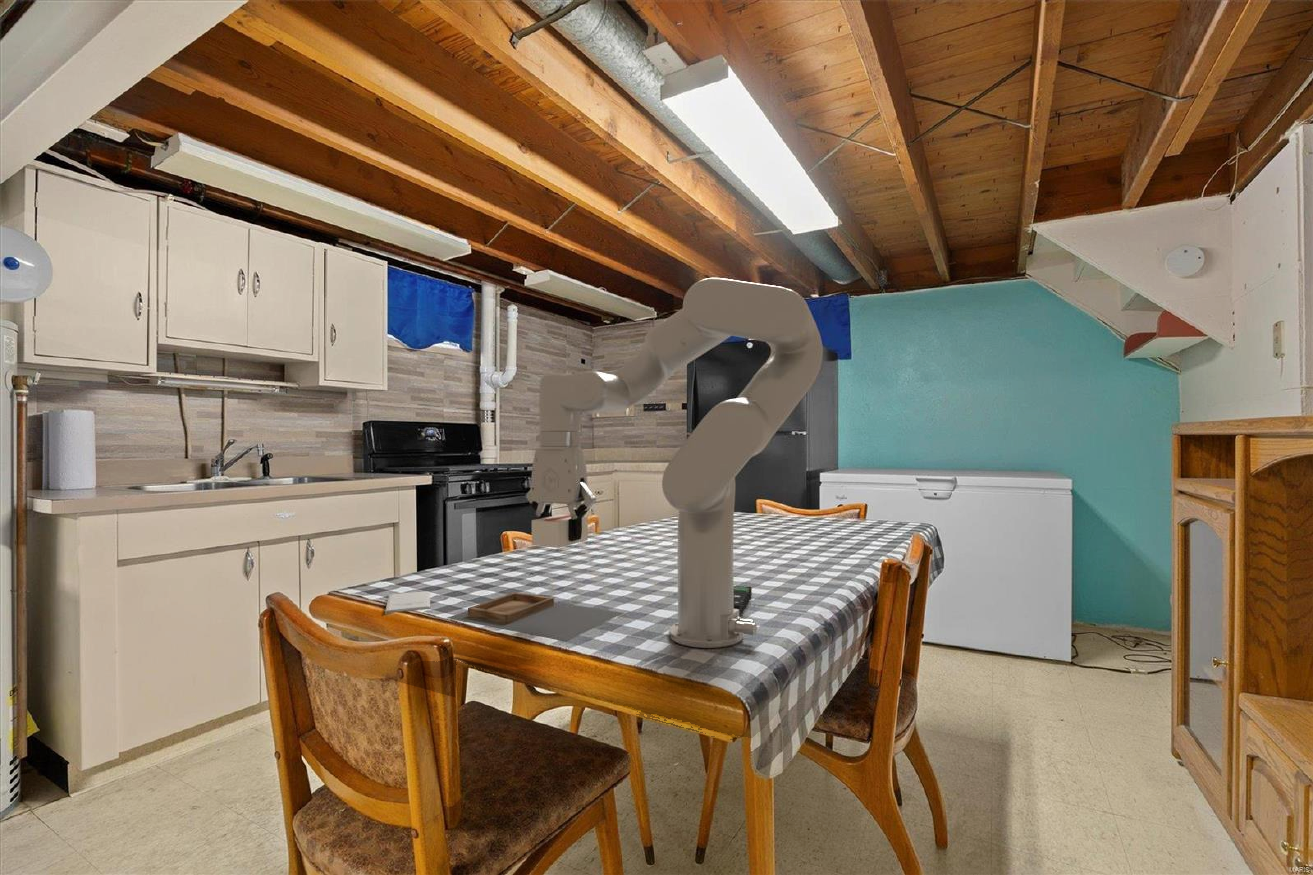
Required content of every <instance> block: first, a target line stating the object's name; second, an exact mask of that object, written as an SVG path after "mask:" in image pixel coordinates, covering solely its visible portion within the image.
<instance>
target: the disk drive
mask: <svg viewBox="0 0 1313 875" xmlns="http://www.w3.org/2000/svg"><path fill="white" fill-rule="evenodd" d="M752 592H753V590H752V587H751V586H742V585H741V586H738V585H734V609H739V617H742V615H743V614H744V612H745V610H746V608H747V606H748V604H749V602H750V601H751V599H752V597H751V596H753V595H752ZM749 600H750V601H749ZM746 605H747V606H746ZM745 607H746V608H745ZM744 609H745V610H744ZM743 611H744V612H743ZM741 614H742V615H741Z"/></svg>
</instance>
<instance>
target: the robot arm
mask: <svg viewBox="0 0 1313 875" xmlns="http://www.w3.org/2000/svg"><path fill="white" fill-rule="evenodd" d="M732 336H733V337H736V338H737V337H738V338H743V339H748V340H754V341H760V342H765V343H766V344H767V345H768V346H769V347H770V355H769V357H768V359H767V360H766V361H765V363H764V364H763V365H762V366H761V367H760V368H759V369H758V370H757V372H756V373H755V374H754V375H753V377H752V378H751V380H750V381H749V382H748V383H747V385H746V386H745V387H744V389H743V390H742V391H741V392H740V393H739V394H738V396H737V397H736V398H731V399H726V400H723V401H721V402H720V403H718V404H716V405H715V406H713V407H712V408H711V410H709V411H708V412H707V414H706V415H705V416H704V417H703V418H702V419H701V421H700V422H699V423H698V424H697V426H696V427H695V428H694V430H693V431H692V432H691V434H689V436H688V437H687V439H686V440H684V442H683V444H682V445H681V446H680V448H679V449H678V450H677V451H676V453H675V454H674V456H673V457H672V458H671V459H670V460H669V462H668V463H667V465H666V467H665V469H664V472H663V474H662V481H661V487H662V492H663V495H664V497H665V499H666V501H667V502H668V503H669V505H670V506H671V507H672V508H674V509H676V510H677V511H678V519H677V547H676V548H677V622H675V623H674V624H672V625H671V626H670V627H669V630H668V635H669V636H668V637H670V639H671V640H672V641H674V642H675V643H677V644H679V645H683V646H686V647H689V648H690V647H693V648H697V649H698V648H703V649H717V648H724V647H730V646H733V645H736V644H738V643H739V642H741V641H742V640H743V638H744V635H747V636H756V634H757V631H758V626H757V623H756V622H755V620H754V619H751V618H750V619H748V618H742V616H739V609H734V586H735V584H734V519H735V518H734V517H735V515H734V514H735V504H736V503H735V502H736V476H737V475H738V474H739V473H740V472H741V470H742V469H743V468H744V467H745V465H746V464H747V463H748V462H749V461H750V459H751V458H752V457H755V456H757V455H758V454H760V453H761V452H763V451H764V449H765V448H766V447H767V446H768V444H769V443H770V441H771V440H772V438H773V437H774V436H775V435H776V433H777V431H778V430H779V428H780V427H782V425H783V424H784V423H785V421H786V420H787V419H788V418H789V416H790V415H791V414H792V412H793V411H794V410H795V408H796V407H797V406H798V405H799V403H800V402H801V400H803V398H804V396H805V395H806V394H807V392H808V391H809V390H810V388H811V387H812V386H813V384H814V382H815V381H816V378H817V377H818V375H819V373H820V370H821V365H822V362H823V355H824V354H823V351H824V349H823V348H824V347H823V341H822V337H821V334H820V331H819V328H818V326H817V323H816V321H815V319H814V317H813V314H812V312H811V309H810V308H809V305H808V303H807V302H806V300H805V298H803V296H802V295H801V294H799V293H798V292H796V291H795V290H792V289H790V288H786V287H783V286H778V285H777V286H776V285H770V284H763V283H755V282H748V281H741V280H736V279H735V280H734V279H728V278H722V277H721V278H720V277H709V278H704V279H701V280H698V281H696V282H694V284H692V285H691V286H690V288H689V289H688V290H687V291H686V293H685V295H684V298H683V302H682V308H681V309H679V310H678V311H676V312H674V313H673V314H672V315H670V316H669V317H667V318H666V319H665V320H663V321H661V322H660V323H658V324H657V325H655V326H654V327H652V328H650V329H649V330H648V332H647V333H646V335H645V338H644V343H643V346H642V349H641V350H640V351H639V353H638V354H637V355H636V356H635V357H634V358H633V359H631V360H630V361H629V362H628V363H626V364H625V365H623V366H622V367H620V368H619V369H617V370H616V371H614V372H612V373H606V372H602V371H597V370H586V371H581V372H576V373H571V374H569V373H549V374H544V375H543V376H542V377H540V380H539V385H538V386H539V390H538V391H539V392H538V393H539V397H538V398H539V399H538V400H539V402H538V403H539V409H538V410H539V434H538V435H536V436H535V440H536V442H537V443H539V448H536V449H535V452H534V456H533V461H532V468H531V478H530V479H531V480H530V481H531V482H530V489H529V491H528V492H527V493H526V494H525V498H526V499H527V501H528V502H529V504H531V507H532V509H533V510H534V512H535V516H536V517H538V519H541V518H546V517H552V516H553V514H551V510H552V508H553V505H554V504H558V505H559V504H560V505H566V507H567V508H568V512H569V515H570V516H571V519H569V541H575V540H579V539H581V534H582V518H583V517H584V516H586V513H588V512H589V510H590V508H592V506H594V504H596V501H597V497H596V496H595V495H594V493H593V492H592V491H591V490H590V488H589V487H588V474H587V463H586V456H585V453H584V452H585V451H584V449H583V448H581V447H582V446H581V445H582V444H581V442H582V441H581V425H582V424H581V422H582V421H581V413H588V414H598V415H601V414H602V415H615V414H619V413H622V412H624V411H625V410H627V409H628V408H631V407H632V406H634V405H635V404H637V403H639V402H640V401H641V400H643V399H645V398H646V397H648V396H650V395H651V394H652V393H654V391H656V390H657V389H658V388H660V387H661V386H662V385H663V384H664V383H665V382H666V381H668V380H669V379H670V378H671V377H672V375H674V374H675V373H676V372H677V371H680V369H682V368H683V367H685V366H687V365H688V364H689V363H691V362H693V361H694V360H696V359H697V358H699V357H701V356H702V355H704V354H705V353H707V352H708V351H710V350H711V349H713V348H716V346H718V345H720V344H721V343H723V342H724V341H726V340H727V339H729V338H731V337H732ZM582 502H583V503H582Z"/></svg>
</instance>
